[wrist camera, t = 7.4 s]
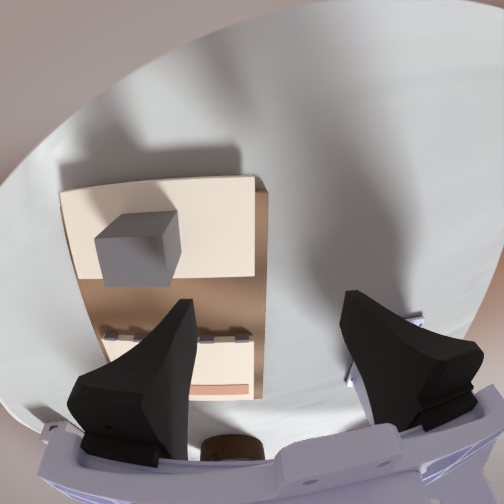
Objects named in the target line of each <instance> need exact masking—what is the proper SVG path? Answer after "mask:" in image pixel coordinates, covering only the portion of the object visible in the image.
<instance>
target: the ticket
mask: <svg viewBox="0 0 504 504" xmlns="http://www.w3.org/2000/svg"><path fill="white" fill-rule="evenodd" d="M147 335H148V334H145V333H135V335H119V334H118V332H106V334H104V335H103V337H102V339H101V340H102V342H103V345H104V347H105V349H106V352H107V354H108V357H109V359H110V361H111V362H112V361H113V360H115V359H117V358H118V357H120V356H121V355H123V354H124V353H126V352H127V351H129V350H130V349H132V348H133V347H134V346H136V345H137V344H138V343H139V342H141V341H142V340H143V339H144V338H145V337H146V336H147ZM189 400H191V401H231V400H254V337H253V335H251V336H249V333H237V334H235V336H222V337H214V334H200V337H198V342H197V353H196V359H195V364H194V369H193V375H192V380H191V385H190V391H189Z"/></svg>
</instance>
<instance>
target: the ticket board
mask: <svg viewBox="0 0 504 504" xmlns="http://www.w3.org/2000/svg"><path fill="white" fill-rule="evenodd" d="M60 210H61V216H62V221H63V226H64V231H65V235H66V240H67V244H68V248H69V252H70V256H71V260H72V264H73V268H74V271H75V275H76V278H77V281H78V285H79V288H80V291H81V294H82V297H83V300H84V303H85V306H86V309H87V312H88V315H89V318H90V320H91V323H92V326H93V328H94V331H95V334H96V336H97V339H98V341H99V344H100V346H101V348H102V351H103V353H104V355H105V358H106V360H107V362H108V363H110V362H111V361H110V359H109V357H108V354H107V352H106V349H105V347H104V345H103V342H102V340H101V339H102V337H103V335H104V334H106V332H118V334H119V335H135V333H145V334H149V333H150V332H151V331H152V330H153V329H154V328H155V327H156V326H157V325H158V324H159V323H160V322H161V321H162V319H163V318H164V317H165V316H166V315H167V314H168V312H169V311H170V310H171V309H172V308H173V306H174V305H175V304H176V303H177V301H178V300H179V299H193V303H194V310H195V317H196V323H197V330H198V337H200V334H214V337H222V336H235V334H237V333H249V336H251V335H253V337H254V399H261V398H262V391H263V367H264V341H265V312H266V279H267V239H268V191H267V190H255V276H247V277H214V278H172V281H171V284H170V287H105V284H104V281H103V279H79V278H78V275H77V271H76V268H75V264H74V260H73V256H72V252H71V248H70V244H69V240H68V235H67V231H66V226H65V221H64V215H63V210H62V206H60Z"/></svg>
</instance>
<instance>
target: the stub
mask: <svg viewBox="0 0 504 504" xmlns="http://www.w3.org/2000/svg"><path fill="white" fill-rule="evenodd" d="M60 198H61V204H62V210H63V215H64V221H65V226H66V231H67V235H68V240H69V244H70V248H71V252H72V256H73V260H74V264H75V268H76V271H77V275H78V278H79V279H103V281H104V284H105V287H170V284H171V281H172V278H214V277H247V276H255V176H254V175H238V176H207V177H187V178H171V179H158V180H146V181H135V182H125V183H116V184H107V185H99V186H92V187H84V188H77V189H71V190H65V191H63V192H61V193H60Z"/></svg>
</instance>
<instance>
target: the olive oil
mask: <svg viewBox="0 0 504 504" xmlns="http://www.w3.org/2000/svg"><path fill="white" fill-rule="evenodd" d="M258 460H265V455H264V448H263V444H262V443H261V442H260V441H259V440H257V439H255V438H252V437H248V436H242V435H222V436H216V437H212V438H209V439H207V440H206V441H204V442H203V443H202V445H201V454H200V461H207V462H236V461H258Z"/></svg>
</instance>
